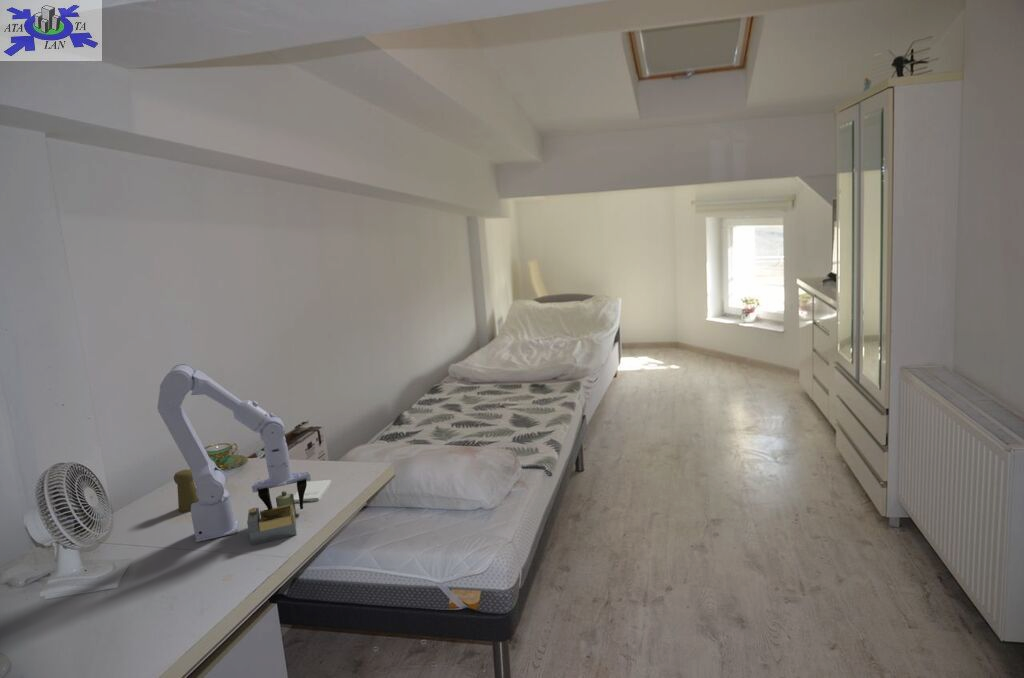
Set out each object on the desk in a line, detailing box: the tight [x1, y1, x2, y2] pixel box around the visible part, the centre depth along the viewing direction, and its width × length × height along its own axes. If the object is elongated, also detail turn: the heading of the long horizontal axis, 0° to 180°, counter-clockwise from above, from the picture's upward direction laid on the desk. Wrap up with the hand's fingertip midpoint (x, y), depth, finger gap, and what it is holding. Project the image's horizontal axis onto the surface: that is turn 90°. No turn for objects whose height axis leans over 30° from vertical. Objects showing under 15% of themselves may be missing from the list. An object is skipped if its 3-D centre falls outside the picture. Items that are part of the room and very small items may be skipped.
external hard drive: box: [293, 479, 333, 504], centre depth 188 cm, size 2×8×12 cm
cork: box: [173, 468, 199, 513], centre depth 185 cm, size 6×6×11 cm
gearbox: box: [246, 504, 297, 546], centre depth 163 cm, size 10×8×7 cm
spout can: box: [275, 490, 297, 517], centre depth 173 cm, size 4×4×6 cm
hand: (286, 511), depth 173 cm, fingers open, 7 cm apart
